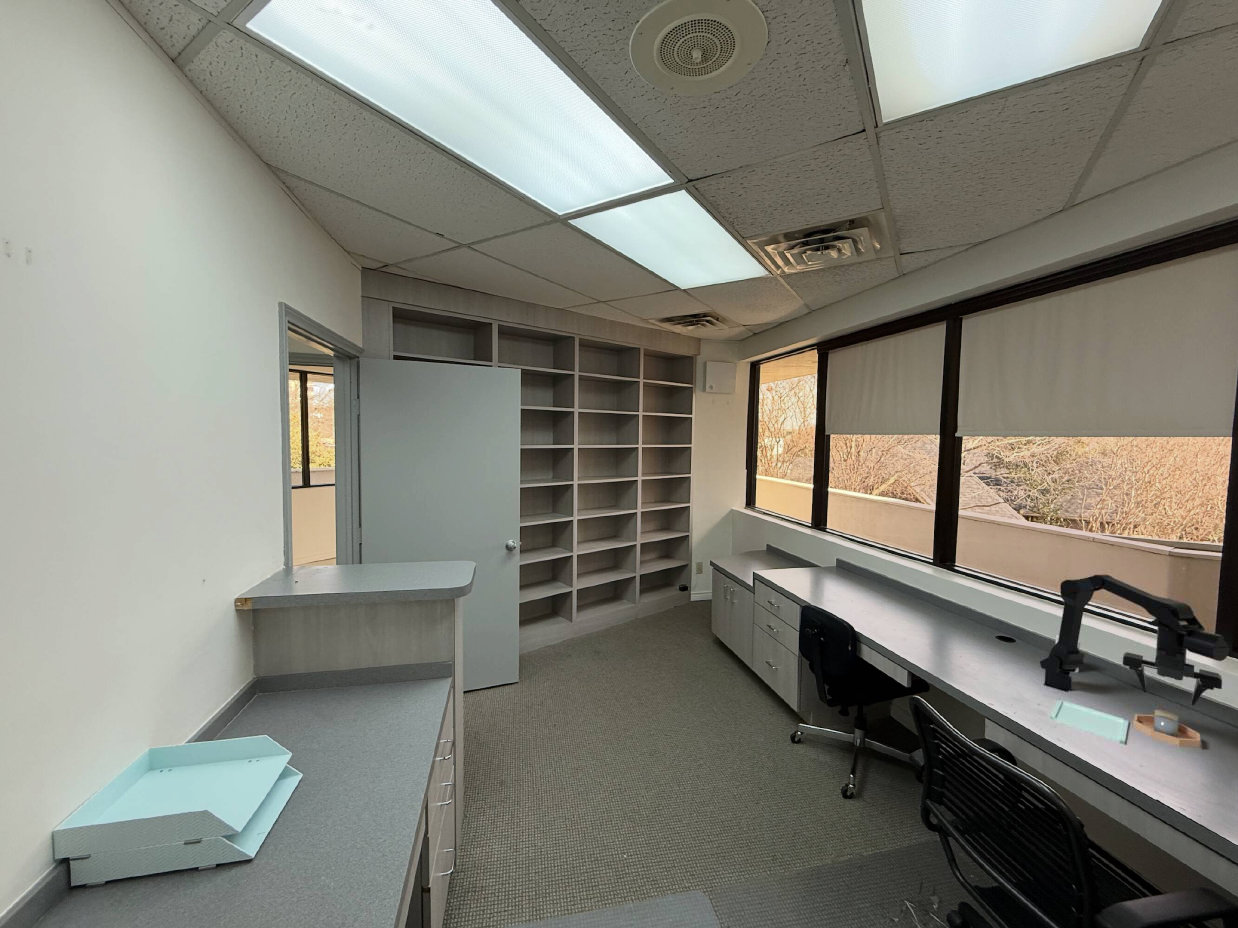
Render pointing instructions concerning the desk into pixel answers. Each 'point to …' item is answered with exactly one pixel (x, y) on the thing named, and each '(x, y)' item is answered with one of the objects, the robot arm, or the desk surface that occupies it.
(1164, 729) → the grey rounded lump
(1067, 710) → the parts tray
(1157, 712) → the river pebble
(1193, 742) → the dish
